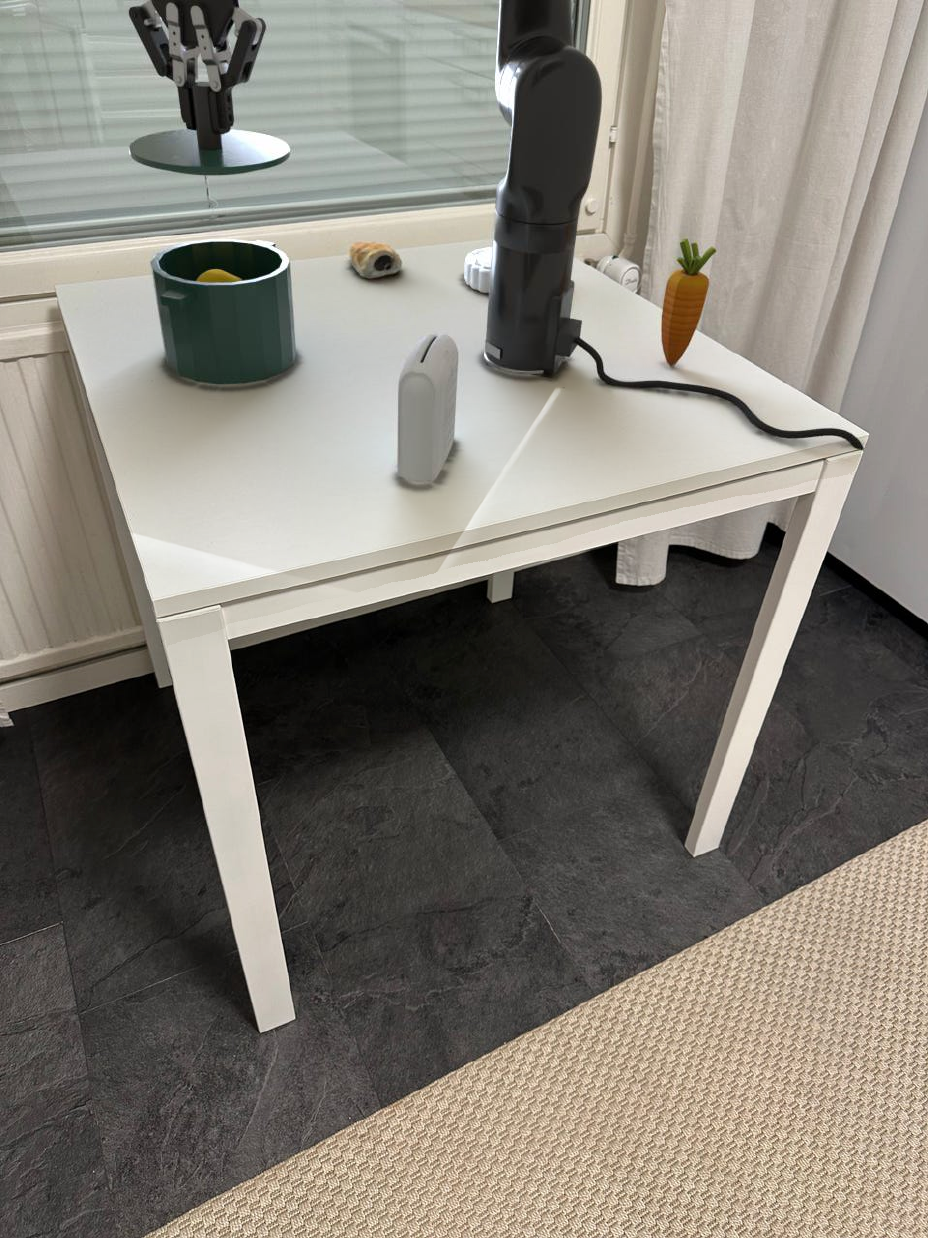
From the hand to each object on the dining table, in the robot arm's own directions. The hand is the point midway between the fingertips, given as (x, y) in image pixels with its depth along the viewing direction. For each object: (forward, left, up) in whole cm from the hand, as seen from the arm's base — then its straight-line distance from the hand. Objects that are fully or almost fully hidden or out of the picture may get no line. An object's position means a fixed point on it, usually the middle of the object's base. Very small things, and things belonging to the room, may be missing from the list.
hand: (209, 129), depth 91 cm
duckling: (+1, -1, -24) cm, 24 cm away
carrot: (-47, -23, -25) cm, 58 cm away
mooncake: (-20, -41, -25) cm, 52 cm away
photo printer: (-28, +11, -25) cm, 39 cm away
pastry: (-1, -37, -25) cm, 44 cm away
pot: (+1, -1, -25) cm, 25 cm away
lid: (0, 0, -2) cm, 2 cm away
